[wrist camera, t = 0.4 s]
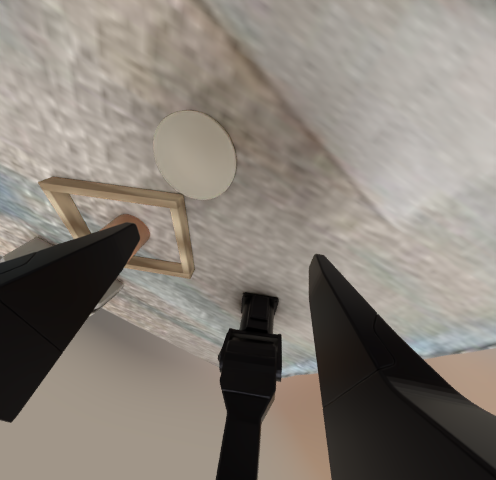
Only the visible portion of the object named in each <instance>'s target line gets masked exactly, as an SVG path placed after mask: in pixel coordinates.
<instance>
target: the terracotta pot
mask: <svg viewBox="0 0 496 480" xmlns="http://www.w3.org/2000/svg"><path fill="white" fill-rule="evenodd" d="M125 222H130V223H135V224H136V225H137V228H138V231H139V234H140V241H139V243H138V245H137V246H136V248H135V250H134V252H133V253H132V255H131V257H130V259H131V258H132V257H133V256H134V255H135V254H136V253H137V251H138V250H139V249H140V248H141V247H142V246H143V245H144V244H145V243H146V242H147V240H148V239H149V237H150V232H149V229H148V228H147V226H146V225H145V224H144V223H143V222H142V221H141V220H140V219H138V218H136V217H134V216H132V215H128V214H123V215H120V216H118V217H117V218H116V219H114V220H113V221H112V222H110V223H109V224H108V225H106V226H105V227H104V228H102V229H101V230H104V229H107V228H110V227H113V226H116V225H119V224H122V223H125ZM101 230H100V231H101ZM130 259H129V260H130ZM129 260H128V261H129Z"/></svg>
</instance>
